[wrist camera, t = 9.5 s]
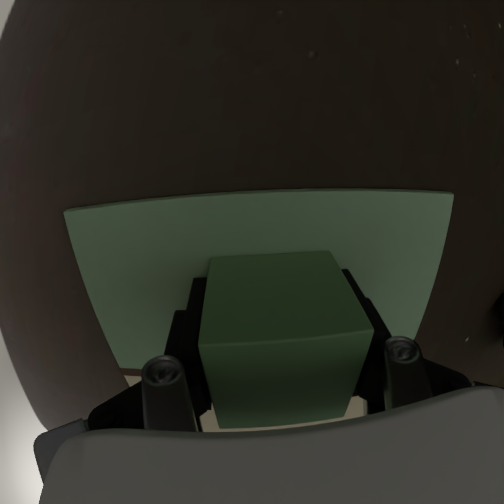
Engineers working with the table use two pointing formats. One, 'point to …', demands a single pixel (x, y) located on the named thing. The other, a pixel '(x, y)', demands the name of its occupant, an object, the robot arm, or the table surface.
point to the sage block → (281, 339)
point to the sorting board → (252, 243)
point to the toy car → (501, 312)
